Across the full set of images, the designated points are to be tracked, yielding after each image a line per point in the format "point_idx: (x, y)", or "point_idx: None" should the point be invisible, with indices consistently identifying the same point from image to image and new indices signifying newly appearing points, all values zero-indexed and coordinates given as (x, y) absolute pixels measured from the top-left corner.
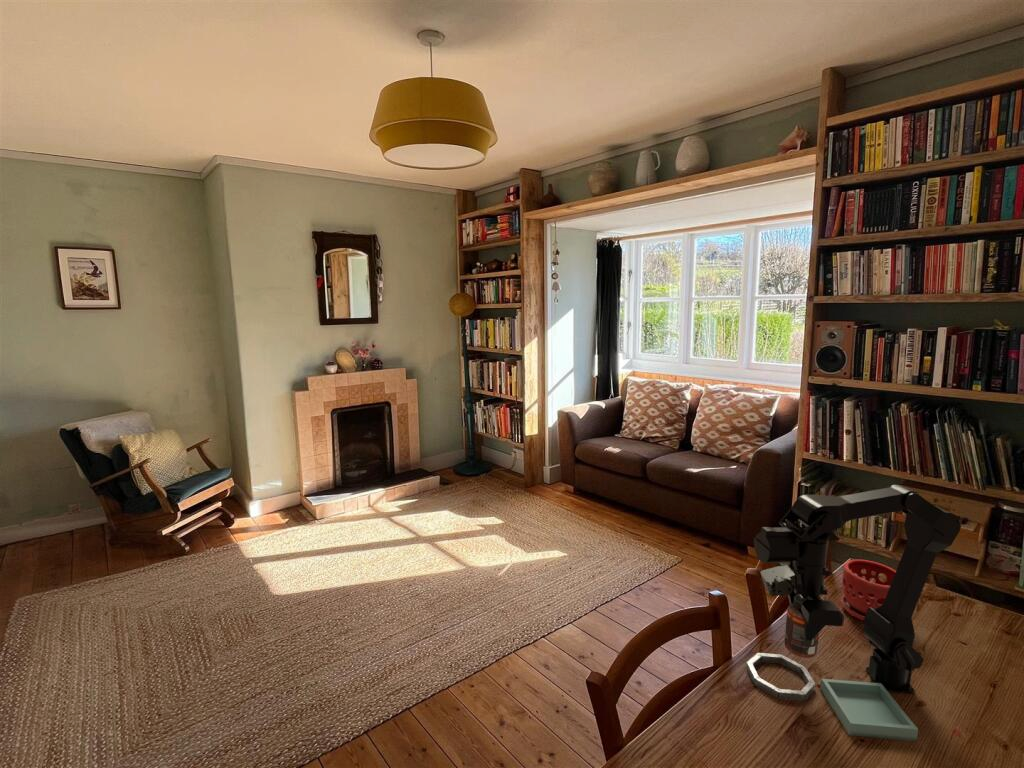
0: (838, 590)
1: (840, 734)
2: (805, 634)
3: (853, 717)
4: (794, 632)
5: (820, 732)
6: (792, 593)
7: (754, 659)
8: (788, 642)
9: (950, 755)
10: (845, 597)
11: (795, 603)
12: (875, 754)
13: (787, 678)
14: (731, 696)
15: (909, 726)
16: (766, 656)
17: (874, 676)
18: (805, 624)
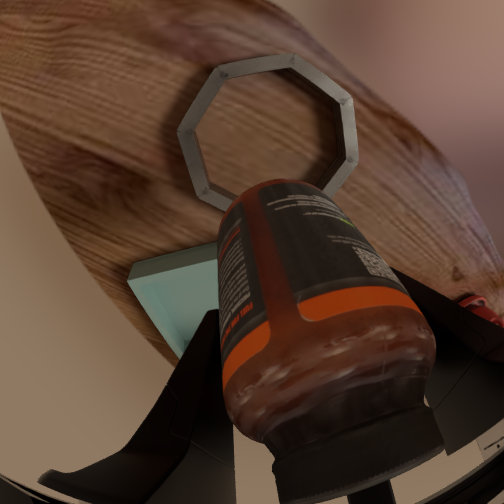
0: (496, 289)
1: (126, 248)
2: (211, 326)
3: (181, 279)
4: (237, 268)
5: (110, 214)
6: (489, 388)
7: (315, 77)
8: (255, 202)
9: (176, 363)
10: (481, 308)
11: (350, 454)
12: (112, 290)
13: (280, 160)
14: (143, 17)
15: (179, 353)
16: (341, 117)
17: None
18: (181, 395)
